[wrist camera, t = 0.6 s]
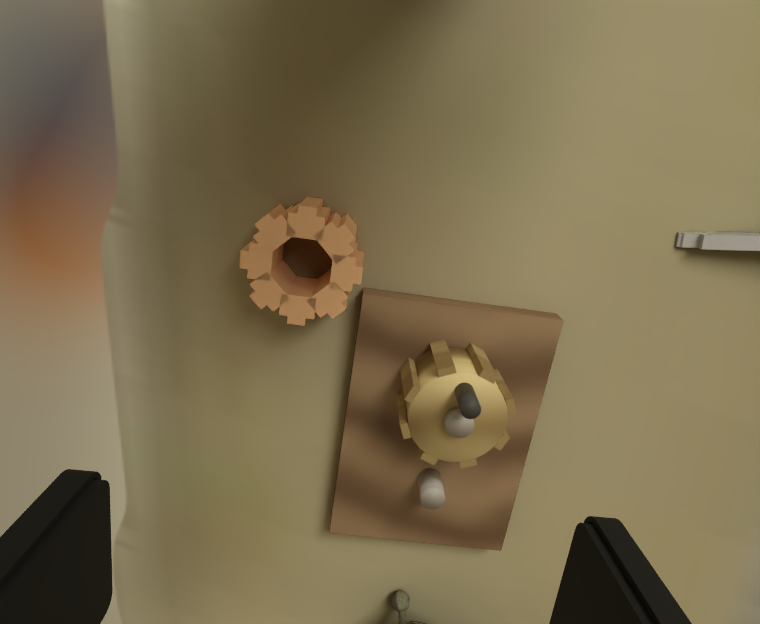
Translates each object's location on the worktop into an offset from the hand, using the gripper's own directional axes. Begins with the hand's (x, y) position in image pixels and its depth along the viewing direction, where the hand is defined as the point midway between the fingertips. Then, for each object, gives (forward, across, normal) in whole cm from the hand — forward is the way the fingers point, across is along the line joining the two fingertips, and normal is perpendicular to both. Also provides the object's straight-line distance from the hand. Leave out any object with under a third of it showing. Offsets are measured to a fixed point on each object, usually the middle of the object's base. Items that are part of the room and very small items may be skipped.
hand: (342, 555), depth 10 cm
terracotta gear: (+27, +4, -1) cm, 27 cm away
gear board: (+28, -7, +12) cm, 31 cm away
